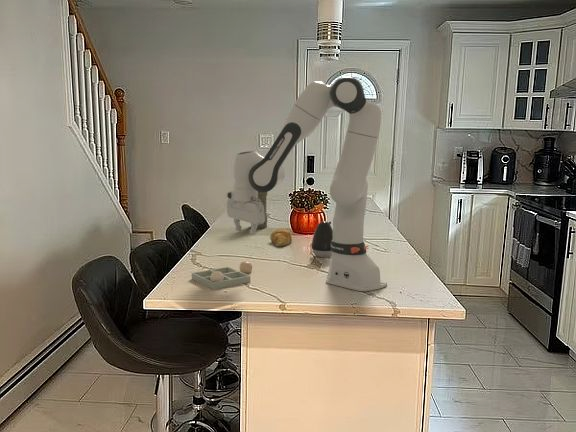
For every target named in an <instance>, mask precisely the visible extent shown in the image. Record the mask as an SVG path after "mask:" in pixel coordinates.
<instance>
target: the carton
mask: <svg viewBox="0 0 576 432" xmlns="http://www.w3.org/2000/svg"><path fill="white" fill-rule="evenodd" d="M214 271H220V272H221V273H223V275H224V281H218V282H212V281H210V275H211V274H212V273H213V272H214ZM191 280H193V281H194V282H197V283H198V284H200V285H202V286H205V287H207V288H209V289H211V290H216V289H217V290H218V289H222V288H228V287H233V286H239V285H242V284H248V283H251V275H249V274H248V273H242V272H241V271H240V270H237V269H234V268H232V267H229V266H225V267H220V268H219V267H218V268H212V269H207V270H202V271H196V272H191Z"/></svg>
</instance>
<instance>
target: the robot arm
mask: <svg viewBox="0 0 576 432" xmlns="http://www.w3.org/2000/svg"><path fill="white" fill-rule="evenodd" d="M334 107H337V108H339V109H341V110H343V111H345V112H346V113H348V114H349V115H348V117H349V119H348V124H347V128H346V131H345V132H346V134H345V137H344V141H343V145H342V150H341V154H340V157H339V160H338V162H337V165H336V168H335V171H334V173H333V177H332V181H331V184H330V187H329V195H330V197H331V199H332V200H333V201H334V203H335V207H334V208H335V209H334V214H333V217H332V230H333V239H332V241H331V251H332V255H331V256H330V259H329V264H328V265H329V266H328V273H327V275H326V281H325V283H327V284H328V285H329V284H330V285H333V286H338V287H342V288H345V289H350V290H352V291H357V292H368V291H369V292H370V291H375V290H380V289H382V288H384V287H387V285H388V282H387V281H385V280H383V279H381V271H380V268H379V266H378V265H377V263H376V262H374V260H373V259H372V257H370V256H369V255H368V253H367V250H369V247H370V245H366V244H365V241H364V228H365V227H364V225H365V215H366V207H367V200H368V199H367V198H368V186H369V183H368V180H367V176H368V174H369V171H370V167H371V165H372V162H373V160H374V155H375V151H376V148H377V143H378V139H379V136H380V131H381V130H380V129H381V123H382V109H381V108H380V106H379V105H378V104H377V103H374V102H372V101H368V100H367V98H366V94H365V91H364V87H363V85H362V82H360V81H359V79H358V78H356V77H353V76H350V75H345V76H341V77H339V78H337V79H336V80H335V81H334V82H333V84H331V85H329V84H326V83H324V82H323V81H315V80H314V81H312V82H310V83H309V84H308V85H307V86H306V87H305V88H304V89H303V91H302V92H301V93H300V95H299V96H298V97H297V99H296V100H295V101H294V103H293V105H292V106H291V109H290V111H289V112H288V114H287V117H286V119H285V122H284V124H283V126H282V128H281V130H280V132H279V133H278V136H277V137H276V139H275V141H274V142H273V144H272V145H271V147H270V148H269V150H267V151H268V152H267V153H266V155H265V156H263V155H260V154H259V153H258V152H257V151H256V150H248V151H243V152H239V153H237V155H235V157H234V165H233V176H234V177H233V178H234V185H233V190H230V191H228V192H226V198H227V200H226V212H227V216H228V217H229V218H232V219H233V223H234V225H235V229H234V230H235V231H238V232H239V231H242V225H241V222H240V221H242V222H246V223H249V224H250V229H249V236H256V232H257V229H258V228H257V227H258V224H263V223H264V221H265V214H264V206H263V203H262V202H261V200H260V199H259V198H258V192H267V193H268V192H270V191H272V190H273V189H274V188H276V187H277V186H279V185H280V184H281V183H282V182H283V180H284V178H285V170H284V167H283V166H282V165H283V164H284V162H285V160H286V159H287V158H288V156H289V154H290V153H291V152H292V150H293V149H294V147H296V146H297V145H298V144H299V143H300V142H302V141H304V140H305V139H307V138H308V137H309V136H311V134H312V133H313V132H314V131H315V130H316V129H317V127H318V126H319V125H320V123H321V122H322V119H323V118H324V117H325V115H326V113H327V112H328V111H329V110H330V109H331V108H334ZM251 226H252V227H251Z"/></svg>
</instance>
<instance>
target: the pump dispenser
mask: <svg viewBox="0 0 576 432" xmlns="http://www.w3.org/2000/svg"><path fill="white" fill-rule="evenodd" d="M315 227H316V228H315V230H314V232H313V236H312V242H311V249H312V253H313V254H314V255H315V256H316V257H317V258H321V259H326V258H331V255H332V251H331V241H332V239H333V226H332V222H331V221H325V220H322V221H320V222H319V223H318V224H317V226H315Z"/></svg>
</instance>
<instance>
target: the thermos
mask: <svg viewBox="0 0 576 432" xmlns="http://www.w3.org/2000/svg"><path fill="white" fill-rule="evenodd" d="M267 196H268V192H258V198H259V199H260V200H261V202H262V203H263V206H264V214H265V221H264V223H263V224H258V227H257V229H266V228H267V227H268V214H267ZM251 227H252V226H251V225H250V228H251ZM265 227H266V228H265Z"/></svg>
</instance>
